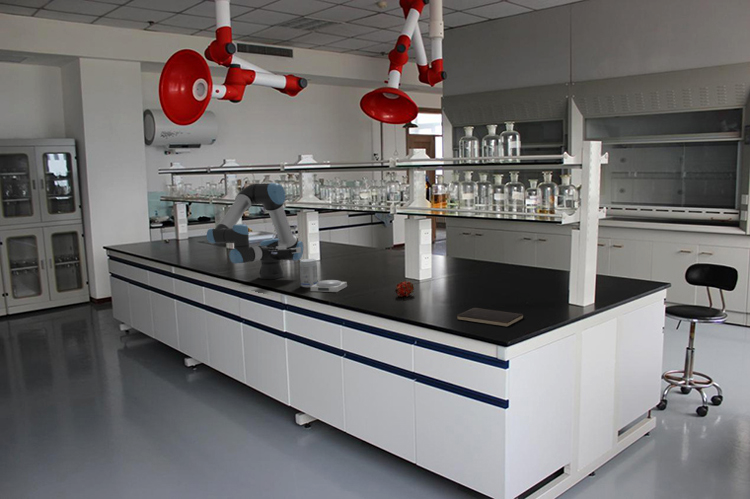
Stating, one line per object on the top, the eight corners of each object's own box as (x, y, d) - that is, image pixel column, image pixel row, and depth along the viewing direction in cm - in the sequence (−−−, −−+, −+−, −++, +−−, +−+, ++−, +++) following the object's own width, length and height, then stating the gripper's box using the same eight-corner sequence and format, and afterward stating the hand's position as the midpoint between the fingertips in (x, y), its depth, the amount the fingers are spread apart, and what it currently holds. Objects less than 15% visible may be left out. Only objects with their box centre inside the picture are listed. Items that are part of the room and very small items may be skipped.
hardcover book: (507, 328, 235) (507, 322, 235) (456, 320, 249) (456, 315, 249) (523, 319, 248) (523, 313, 247) (474, 312, 262) (474, 307, 261)
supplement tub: (313, 283, 336) (312, 258, 334) (320, 286, 328) (319, 260, 326) (298, 285, 332) (296, 259, 330) (304, 288, 323) (303, 262, 321)
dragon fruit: (415, 297, 300) (397, 304, 293) (405, 286, 304) (387, 293, 297) (420, 286, 294) (402, 293, 287) (410, 274, 299) (392, 281, 292)
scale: (321, 285, 330) (321, 279, 330) (346, 286, 325) (346, 280, 325) (310, 291, 316) (310, 284, 315) (336, 292, 311) (336, 285, 311)
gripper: (247, 258, 316) (280, 253, 330) (272, 262, 298) (306, 257, 312) (246, 244, 315) (280, 240, 329) (271, 247, 297) (306, 243, 311)
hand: (293, 248), depth 321 cm, fingers open, 13 cm apart
